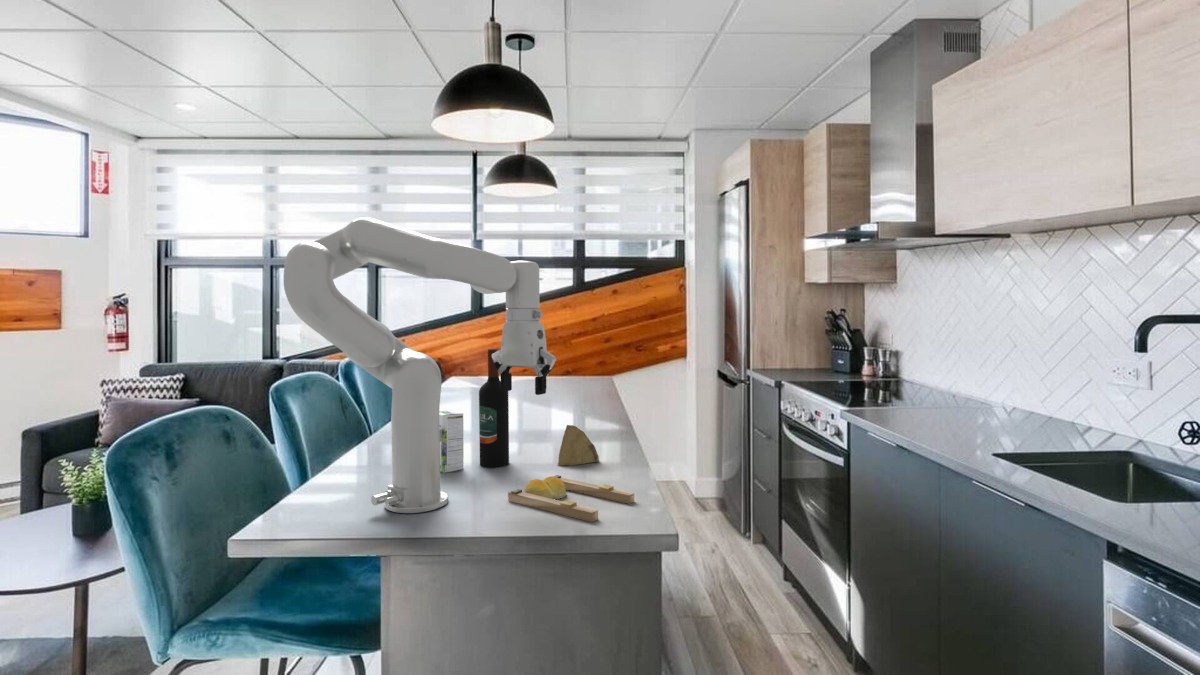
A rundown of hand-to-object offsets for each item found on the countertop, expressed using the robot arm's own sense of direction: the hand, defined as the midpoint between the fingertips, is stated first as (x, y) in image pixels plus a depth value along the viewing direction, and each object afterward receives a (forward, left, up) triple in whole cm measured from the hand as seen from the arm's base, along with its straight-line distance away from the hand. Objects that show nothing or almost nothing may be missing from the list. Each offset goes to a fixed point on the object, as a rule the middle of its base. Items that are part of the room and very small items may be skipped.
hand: (523, 392), depth 136 cm
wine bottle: (+11, +20, -22) cm, 32 cm away
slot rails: (-1, -15, -22) cm, 26 cm away
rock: (+24, +3, -22) cm, 33 cm away
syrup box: (+1, +26, -22) cm, 34 cm away
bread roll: (-1, -8, -22) cm, 24 cm away
